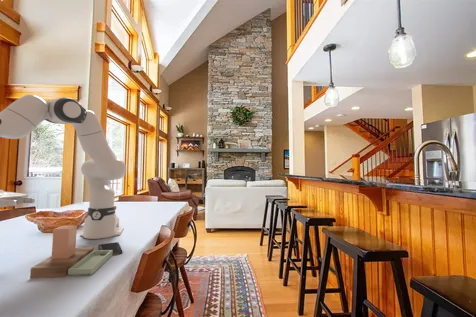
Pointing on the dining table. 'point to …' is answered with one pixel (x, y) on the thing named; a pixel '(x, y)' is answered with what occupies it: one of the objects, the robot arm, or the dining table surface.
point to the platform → (59, 264)
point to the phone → (111, 248)
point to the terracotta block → (64, 242)
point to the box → (90, 263)
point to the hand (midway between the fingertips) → (24, 201)
